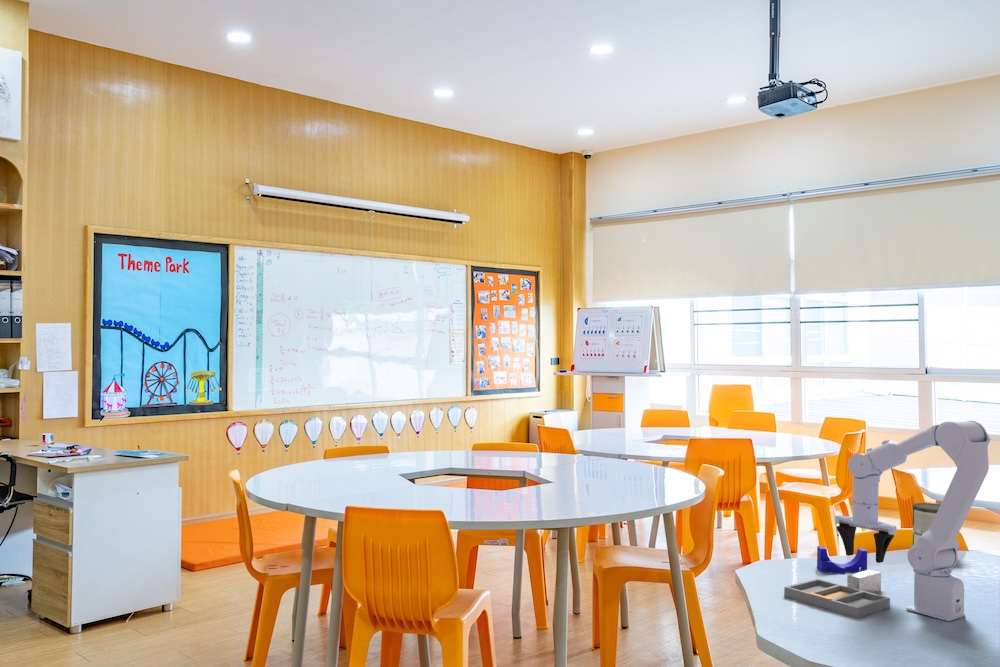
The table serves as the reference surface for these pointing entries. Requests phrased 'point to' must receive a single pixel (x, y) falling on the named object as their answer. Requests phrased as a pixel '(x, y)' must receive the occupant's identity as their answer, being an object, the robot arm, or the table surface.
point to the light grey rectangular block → (865, 581)
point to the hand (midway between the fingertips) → (864, 558)
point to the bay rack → (837, 597)
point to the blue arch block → (831, 567)
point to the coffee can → (923, 518)
